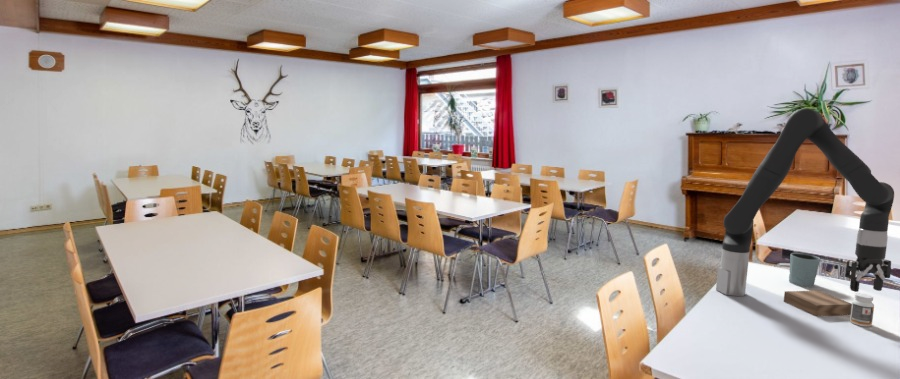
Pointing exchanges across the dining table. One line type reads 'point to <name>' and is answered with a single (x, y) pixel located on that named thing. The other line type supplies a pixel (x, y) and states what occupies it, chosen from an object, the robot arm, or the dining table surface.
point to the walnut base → (817, 303)
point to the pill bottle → (862, 310)
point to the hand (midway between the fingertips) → (865, 290)
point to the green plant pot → (803, 269)
